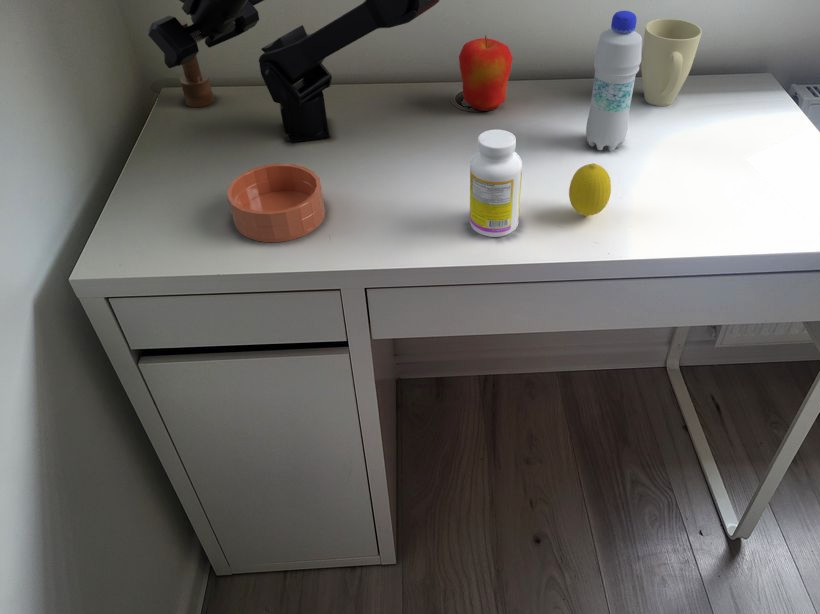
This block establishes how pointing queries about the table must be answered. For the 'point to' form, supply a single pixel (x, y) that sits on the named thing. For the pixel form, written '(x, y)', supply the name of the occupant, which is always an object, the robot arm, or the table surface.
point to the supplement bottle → (495, 184)
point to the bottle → (614, 82)
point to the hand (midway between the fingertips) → (187, 54)
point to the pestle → (195, 82)
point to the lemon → (590, 189)
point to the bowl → (276, 202)
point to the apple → (485, 72)
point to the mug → (667, 58)
